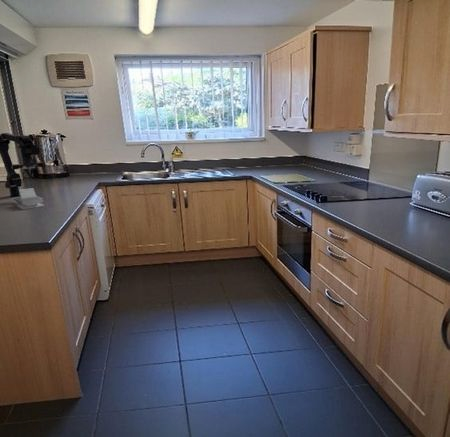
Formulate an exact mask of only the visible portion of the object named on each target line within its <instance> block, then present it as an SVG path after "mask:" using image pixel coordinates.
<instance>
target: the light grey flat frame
mask: <svg viewBox="0 0 450 437" xmlns="http://www.w3.org/2000/svg"><path fill="white" fill-rule="evenodd" d="M36 197H37V201H38V203H41V204H43V203H44V198H42V197H41V196H38V195H36ZM12 203H13V204H14V205H16V206H17V207H18V206H19V205H22V202H21V199H20V197H18V198H12Z"/></svg>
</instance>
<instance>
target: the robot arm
mask: <svg viewBox="0 0 450 437" xmlns="http://www.w3.org/2000/svg"><path fill="white" fill-rule="evenodd" d="M11 142H15V143H16V144H17V145H18V147H17V148H18V149H20V155H21V160H22V164H18V163H17V164H16V163H15V164H13V162H12V158H11V156H10V154H9V150H10V144H11ZM40 151H41V150H40V148H39V147H38V146H37V145H36V144H35V143H34V142H33V140H32V139H31V137H30V136H29V135H17V134H12V133H8V132H6V133H5V132H4V133H3V132H2V133H0V158H1V160H2V162H3V165H4V168H5V171H6V173H7V174H6V178H5V179H6V182H5V184H4V186H5V189H9V198H11V197H13V198H15V197H20V193H19V189H20V187H22V183H23V182H22V181H23V180H22V177H21V175H20V173H17V172H16V171H15V170H20V169H22V170H23V171H24V172H25V173H26V174H27V177H28V178H29V180H31V179H32V177H33V172H34V170H35V169H36V167H39V168H43V167H44V168H45V163H44V162H43V161H41V162H40V161H39V162H37V159H36V158H33V157H32V156H38V155H39V154H40Z"/></svg>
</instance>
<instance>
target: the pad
mask: <svg viewBox="0 0 450 437" xmlns="http://www.w3.org/2000/svg"><path fill="white" fill-rule="evenodd" d="M45 206H46V205H45V204H43V203H38V205H36V206H27V207H23V205H19V206H18V205H17V207H18V208H19V209H22V210H28V209H35V208H40V207H45Z"/></svg>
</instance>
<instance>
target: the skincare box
mask: <svg viewBox="0 0 450 437" xmlns="http://www.w3.org/2000/svg"><path fill="white" fill-rule="evenodd" d="M19 193H20V196H19V198H20V199H21V202H22V205H23V207H27V206H36V205H38V201H37V197H36V196H37V194H36V192H35V189H34V188H33V187H32V188H22V189H21V188H19Z"/></svg>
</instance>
